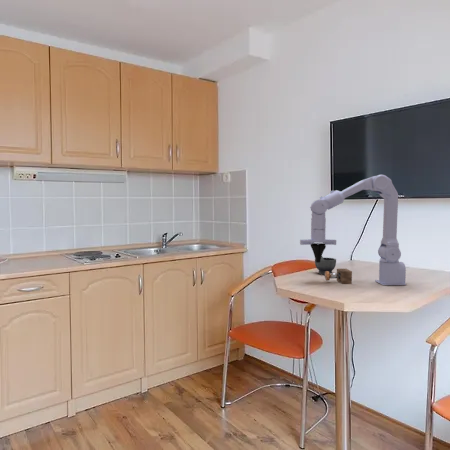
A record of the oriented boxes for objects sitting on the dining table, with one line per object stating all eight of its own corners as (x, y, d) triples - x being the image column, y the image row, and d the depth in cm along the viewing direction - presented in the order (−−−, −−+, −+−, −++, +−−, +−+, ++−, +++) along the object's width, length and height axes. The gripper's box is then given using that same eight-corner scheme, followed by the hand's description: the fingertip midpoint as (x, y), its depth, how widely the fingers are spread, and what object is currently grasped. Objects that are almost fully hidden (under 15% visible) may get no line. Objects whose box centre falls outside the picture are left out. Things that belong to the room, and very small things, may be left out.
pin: (339, 279, 164) (339, 270, 163) (341, 281, 160) (342, 272, 160) (324, 279, 163) (324, 270, 163) (327, 281, 160) (327, 272, 159)
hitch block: (346, 280, 165) (346, 268, 165) (351, 283, 158) (352, 271, 158) (336, 280, 165) (336, 268, 165) (342, 283, 158) (342, 271, 158)
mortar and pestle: (339, 273, 182) (339, 247, 181) (332, 276, 174) (332, 249, 173) (316, 270, 188) (316, 246, 188) (308, 273, 181) (308, 248, 180)
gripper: (332, 228, 164) (332, 260, 165) (298, 228, 164) (298, 260, 165) (338, 229, 157) (337, 263, 158) (302, 229, 157) (301, 263, 158)
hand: (317, 262), depth 161 cm, fingers closed
